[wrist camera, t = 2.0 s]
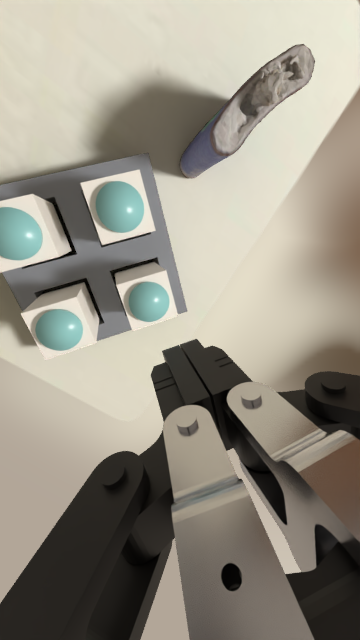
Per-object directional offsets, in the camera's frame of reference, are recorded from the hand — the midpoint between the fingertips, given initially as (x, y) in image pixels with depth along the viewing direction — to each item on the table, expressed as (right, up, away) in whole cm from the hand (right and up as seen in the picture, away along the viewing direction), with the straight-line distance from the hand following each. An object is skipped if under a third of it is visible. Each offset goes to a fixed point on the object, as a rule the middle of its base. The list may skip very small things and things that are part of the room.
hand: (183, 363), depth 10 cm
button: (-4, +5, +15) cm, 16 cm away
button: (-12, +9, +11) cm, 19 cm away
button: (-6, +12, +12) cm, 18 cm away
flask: (+3, +20, +15) cm, 25 cm away
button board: (-9, +8, +15) cm, 19 cm away
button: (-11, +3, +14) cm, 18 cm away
